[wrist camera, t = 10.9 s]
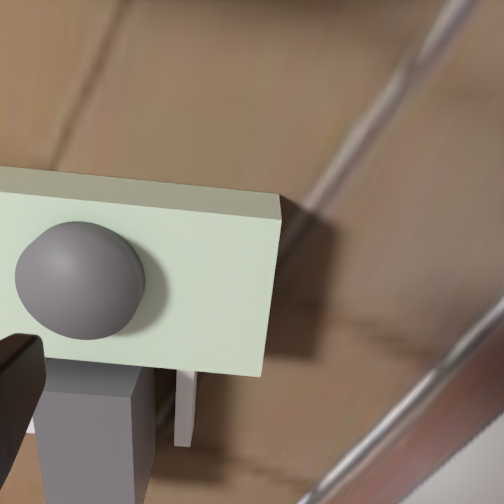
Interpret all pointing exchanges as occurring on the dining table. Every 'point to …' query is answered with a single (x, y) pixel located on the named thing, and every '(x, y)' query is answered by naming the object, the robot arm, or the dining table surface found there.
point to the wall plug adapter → (139, 274)
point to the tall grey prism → (96, 432)
